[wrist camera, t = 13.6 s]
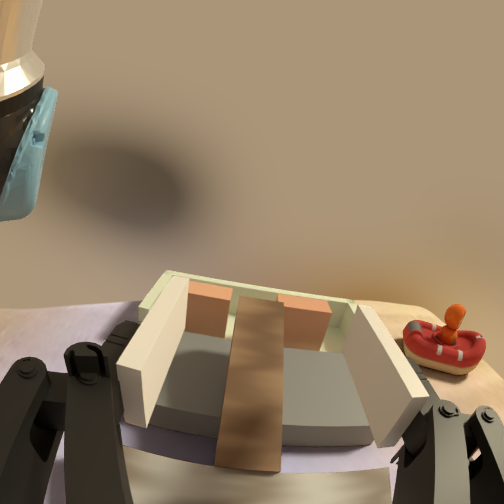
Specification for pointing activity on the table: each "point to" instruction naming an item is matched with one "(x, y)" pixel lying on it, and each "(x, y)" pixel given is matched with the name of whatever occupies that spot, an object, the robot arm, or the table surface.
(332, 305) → the tray
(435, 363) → the toy boat
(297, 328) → the tile
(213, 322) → the tile
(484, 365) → the table surface
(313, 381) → the slate board
